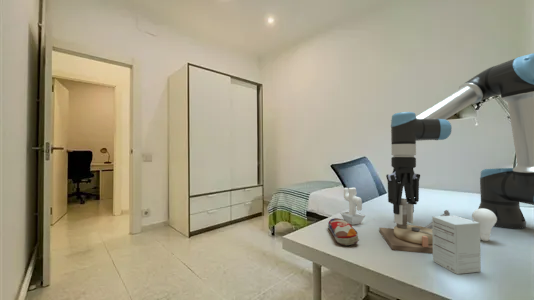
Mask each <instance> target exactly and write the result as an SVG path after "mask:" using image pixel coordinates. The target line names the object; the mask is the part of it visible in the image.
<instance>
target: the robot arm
mask: <svg viewBox="0 0 534 300" xmlns="http://www.w3.org/2000/svg"><path fill="white" fill-rule="evenodd" d="M496 96H500V98H501V100H503V101H505V102H507V106H508V111H509V119H510V125H511V131H512V132H511V133H512V137H513V145H514V151H515V157H516V164H517V165H515V166H514V167H504V168H502V167H501V168H499V167H498V168H484V169H482V170H481V171H480V177H479V183H480V184H479V185H480V191H479V192H480V203H479V205H478V208H477V209H480V208H484V209H488V210H490V211H492V212H493V213H494V214H495V215H496V217H497V222H496V223H495V225H494V226H493V227H496V228H505V229H515V230H517V229H520V230H521V229H525V228H527V221H526V219H525V215H524V214H523V212H522V210H521V208H520V207H521V206H520V203H522V204H526V205H527V204H528V205H532V206H534V52H533V53H529V54H525V55H521V56H518V57H516V58H512V59H510V60H508V61H505V62H502V63H500V64H497V65H493V66H491V67H488V68H486V69H485V70H483V71H481V72H479V73H478V74H476V75H475V76H473V77H471V78H470V79H468V80H467V81H465V82H464V83H462V84H461V85H460V86H459V87H458V89H457V90H455V91H454V92H453V93H451V94H449V95H448V96H446V97H444V98H442V99H441V100H440V101H437V103H435V104H433V105H431V106H430V107H429V108H428V107H427V109H425V110H424V111H422V112H421V113H419V114H417V115H416V113H415V111H402V112H397V113H395V112H394V113H393V114H392V116H391V120H390V121H391V122H390V128H391V129H390V130H391V131H390V132H391V144H390V145H391V155H392V157H391V160H390V161H391V163H390V164H391V165H390V166H391V168H393V170H392V173H390V174H386V175H385V176H386V180H387V202H388V203H390V204H392V205H393V206H392V207H393V210H392V211H393V212H392V213H393V214H394V216H393V218H394V219H393V220H394V221H393V222H394V223H395V224H397V223H398V224H401V225H402V224H403V212H402V205H400V204H401V198H403V192H404V193H405V194H404V195H405V199H407V223H410V224H414V211H415V210H414V209H415V206H414V205H417V204H418V202H419V201H420V198H419V197H420V196H419V195H420V179H421V174H419V173H415V170H414V168H416V166H417V158H416V157H415V156H417V144H416V143H417V141H418V142H419V141H421V142H422V141H443V140H446V139H448V138H449V137H450V136H451V134H452V124H451V122H450V121H449V120H447V119H449V118H451V117H452V116H454V115H455V114H457V113H459V112H461V111H462V110H464V109H465V108H467V107H469V106H470V105H473V104H478V103H480V102H481V101H483V100H485V99H489V98H491V97H496Z"/></svg>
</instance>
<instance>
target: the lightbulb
mask: <svg viewBox="0 0 534 300" xmlns="http://www.w3.org/2000/svg"><path fill="white" fill-rule="evenodd" d="M471 216H472V221H475V222H478V223H480V240H482V241H483V242H487V241H490V238H491V234H492V229H493V227H495V226H494V225H495V223H496V222H497V217H496V215H495V214H494V213H493V212H492V211H490V210H488V209H484V208H480V209H478V208H477V209H475V210H474V211H473V212H472V215H471Z"/></svg>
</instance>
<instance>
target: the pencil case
mask: <svg viewBox="0 0 534 300" xmlns="http://www.w3.org/2000/svg"><path fill="white" fill-rule="evenodd" d="M327 227H328V229H329V230H330V232H331V234H332V236H333V238H334V239H335V241H336V243H338V244H340V245H342V246H346V247H347V246H350V245H354V244H357V243H358V242H359V241H360V239H359V236H358V235H359V232H357V231H358V230H356V229H355V228H354V227H353V225H352V224H349V223H348V222H347V221H345V220H344V219H343V218H338V217H337V218H336V217H334V218H331V219H329V220H328V222H327Z"/></svg>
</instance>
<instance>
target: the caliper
mask: <svg viewBox="0 0 534 300" xmlns="http://www.w3.org/2000/svg"><path fill="white" fill-rule="evenodd" d="M440 216H451V214H450V212H449V209H444V211H443V214H441V215H440ZM424 227H426V228H429V229H432V222H430V223H429V224H427V225H425V226H424Z"/></svg>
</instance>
